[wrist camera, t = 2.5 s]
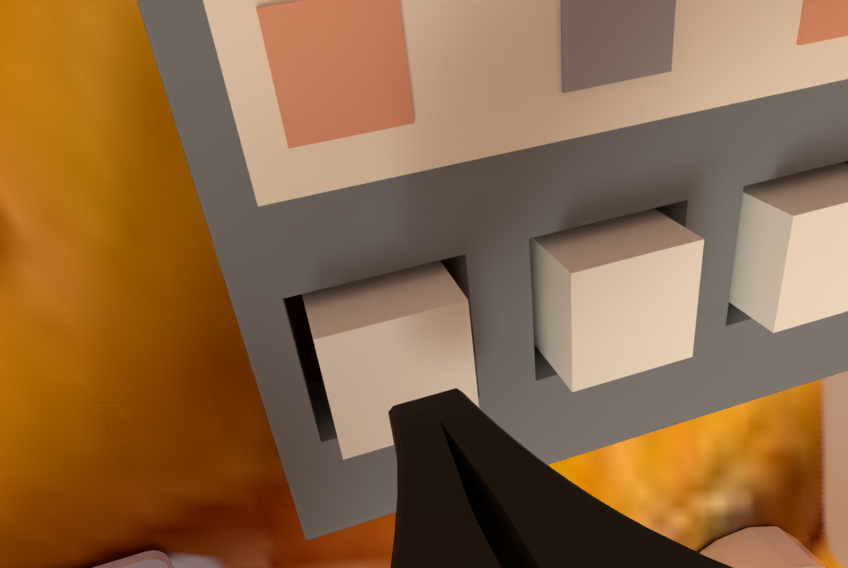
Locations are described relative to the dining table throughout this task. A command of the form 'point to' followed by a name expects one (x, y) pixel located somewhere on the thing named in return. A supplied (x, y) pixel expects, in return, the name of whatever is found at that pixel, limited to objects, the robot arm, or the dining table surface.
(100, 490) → the dining table surface
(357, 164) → the button board
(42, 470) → the dining table surface
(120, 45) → the dining table surface
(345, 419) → the button
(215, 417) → the dining table surface
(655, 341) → the middle button
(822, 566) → the white cup
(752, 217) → the button
